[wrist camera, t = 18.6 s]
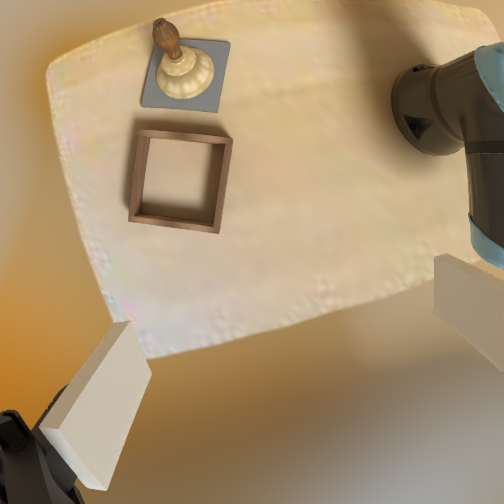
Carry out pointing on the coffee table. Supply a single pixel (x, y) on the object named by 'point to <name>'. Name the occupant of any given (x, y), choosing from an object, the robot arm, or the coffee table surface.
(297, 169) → the coffee table surface
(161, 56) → the grey rubber pad
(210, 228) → the brown wooden square frame
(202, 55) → the hand bell
